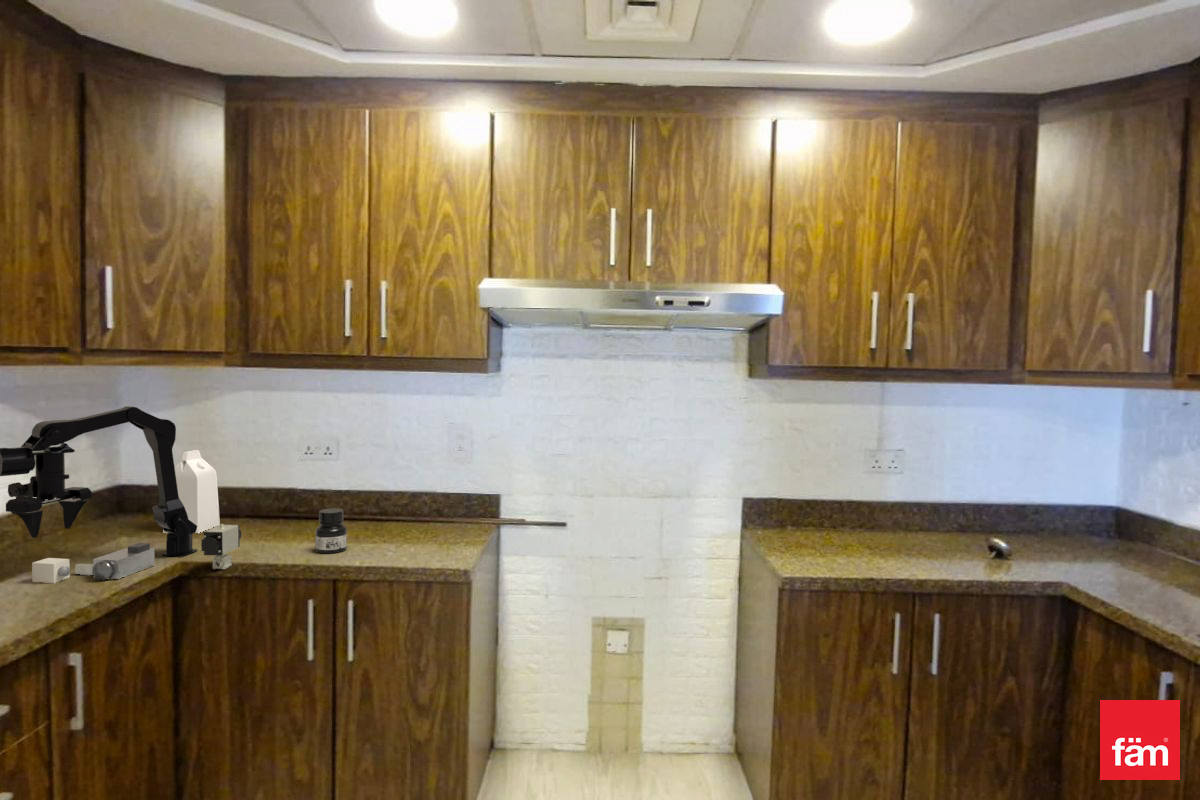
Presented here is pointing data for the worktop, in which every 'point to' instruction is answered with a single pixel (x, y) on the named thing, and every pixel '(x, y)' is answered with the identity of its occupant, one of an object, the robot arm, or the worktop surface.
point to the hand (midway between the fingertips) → (51, 533)
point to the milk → (198, 490)
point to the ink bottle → (331, 532)
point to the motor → (119, 562)
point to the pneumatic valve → (221, 544)
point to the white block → (50, 570)
